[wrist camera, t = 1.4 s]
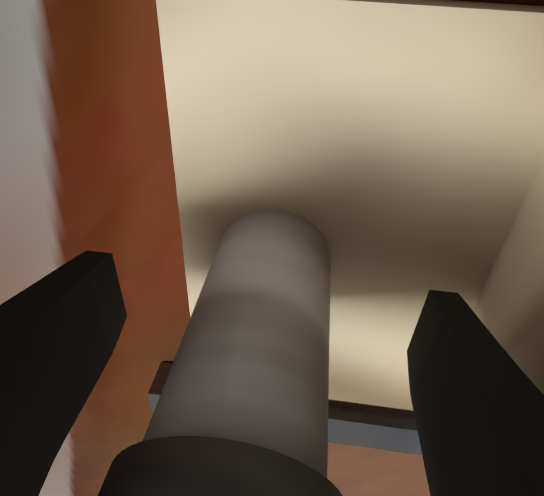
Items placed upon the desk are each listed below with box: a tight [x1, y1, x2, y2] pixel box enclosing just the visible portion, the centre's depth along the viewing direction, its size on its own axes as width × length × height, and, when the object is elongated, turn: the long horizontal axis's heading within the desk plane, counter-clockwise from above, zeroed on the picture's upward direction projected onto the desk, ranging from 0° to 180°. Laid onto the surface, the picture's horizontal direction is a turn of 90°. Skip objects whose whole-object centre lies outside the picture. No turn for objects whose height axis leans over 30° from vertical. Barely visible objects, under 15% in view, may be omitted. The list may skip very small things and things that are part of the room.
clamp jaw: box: [98, 0, 544, 496], centre depth 8 cm, size 12×11×8 cm
